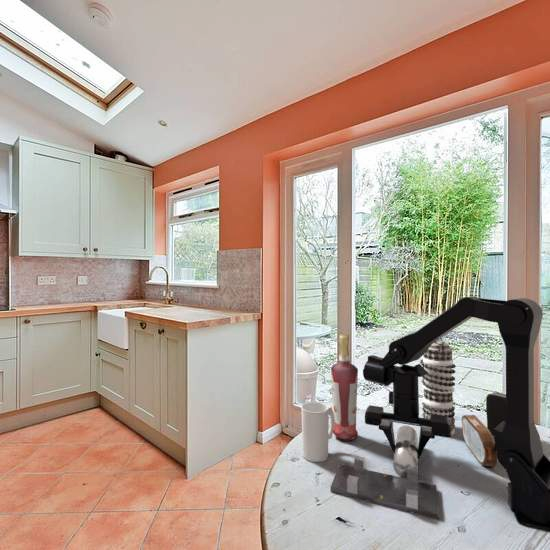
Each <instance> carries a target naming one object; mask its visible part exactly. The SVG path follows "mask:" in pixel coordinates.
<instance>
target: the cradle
mask: <svg viewBox="0 0 550 550" xmlns="http://www.w3.org/2000/svg"><path fill="white" fill-rule="evenodd" d="M353 461H354V464H353V465H354V466H351V465H349V464H348V465H347V464H342V463H339V466H338V468H337V470H336V472H335V475H334V478H333V480H332V482H331V484H330V492H331V493H335V494H338V495H342V496H347V497H351V498H354V499H358V500H361V501H366V502H369V503H373V504H378V505H381V506H385V507H389V508H393V509H396V510H400V511H404V512H409V513H412V514H416V515H419V516H424V517H427V518H432V519H435V520H440V513H439V510H440V509H439V500H438V498H439V497H438V488H437V484H432V483H429V482H424V481H419V475H418V473H419V469H418V468H419V467H418V468H413V467H407V479H406V478H402V477H400V476H398V475H392V474H389V473H388V474H387V473H383V472H379V471H374V470H369V469H366V468H365V464H366V463H365V462H366V461H365V457H363V456H360V455H359V456H358V455H355V456H354V459H353Z"/></svg>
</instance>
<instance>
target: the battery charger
mask: <svg viewBox="0 0 550 550" xmlns="http://www.w3.org/2000/svg"><path fill="white" fill-rule="evenodd" d="M485 408H486V409H485V410H486V411H485V412H486V427H487V428H488V430H489V431H490V433H491V435H492V436H494V435H493V430H494V429H495V428H496V427H497V426H498V425H499V424H501V423H502V422H503V421H504V422H505V421H506V393H504V394H503V393H500V392H490V393H488V394H487V396H486V400H485Z"/></svg>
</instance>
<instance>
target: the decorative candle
mask: <svg viewBox="0 0 550 550" xmlns="http://www.w3.org/2000/svg"><path fill="white" fill-rule="evenodd" d="M453 350H454V349H453V347H451V346H450V345H449V343H447V342H446V341H445V342H444V341H439V340H437V341H435V342H434V343H433V344H432V345H431V346H430V347H429V349H428V350H427V351H426V352H425V353H424V354H423V355H422V359H421V360H420V362H419V364H420V365H421V366H422V367H423V368H424V369H425V370H426V371H427V372H428V374H427V375H424V376H422V377H421V387H422V388H423V396H422V397H423V399H422V401H423V402H422V403H421V404H422V408H421V410H422V412H423V413H422V414H421V416H422V417H421V418H428V419H431V414H434V415H441V416H446V417H447V418H448V419H449V422H450V426H451V436H453V435H454V434H455V433H456V429H455V428H456V424H455V423H456V422H455V421H456V419H455V415H456V413H455V409H456V407H455V405H454V399H453V396H454V395H453V393H454V392H455V388H454V387H455V386H456V382H454V381H455V380H456V377H455V376H453V375H454V374H455V373H456V370H455V369H454V368H456V364H454V359H453Z"/></svg>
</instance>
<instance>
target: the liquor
mask: <svg viewBox="0 0 550 550" xmlns="http://www.w3.org/2000/svg"><path fill="white" fill-rule="evenodd" d="M338 342H339V343H338V344H339V356H338V362H337V363H335V364H333V365H332V366H331V367H330V373H331V391H332V406H333V408H332V411H333V413H334V418H335V423H334V430H333V434H334V436H336V438H337V439H339V440H341V439H342V440H341V441H346V440H347V441H352V440H353V439H355V438H356V437H357V436H358V430H357V402H358V401H357V399H358V383H359V382H358V376H359V369H358V367H357V366H355V364H352V363H350V362H351V361H350V353H349V351H350V350H349V342H350V335H348V334H339V335H338Z"/></svg>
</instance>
